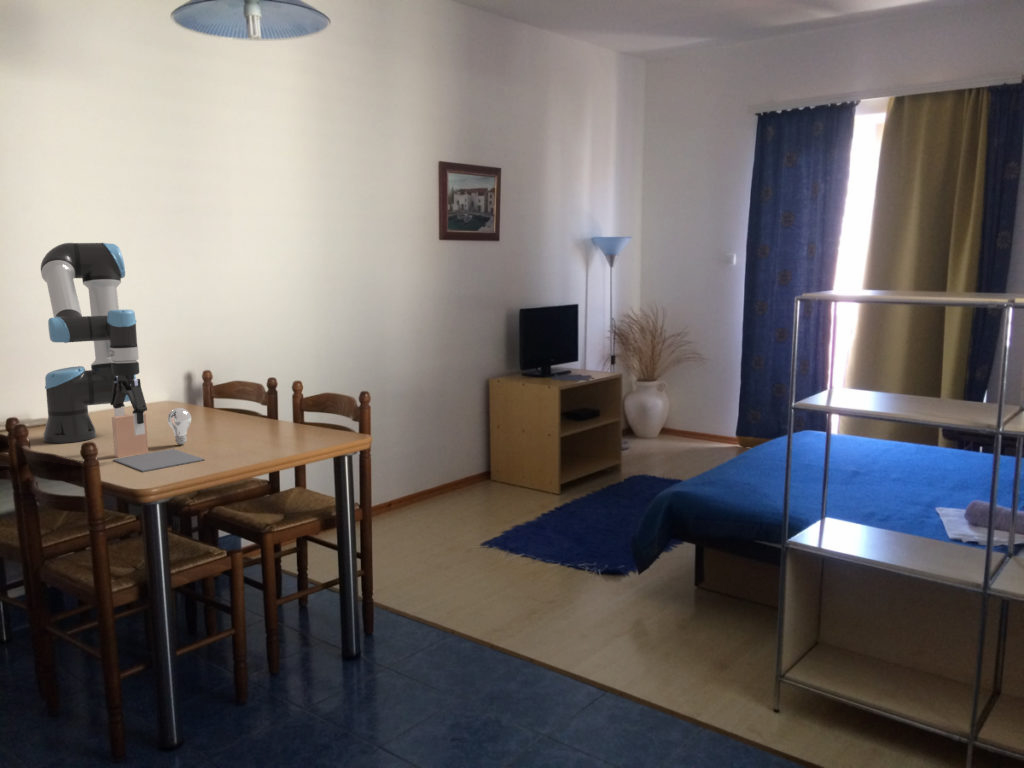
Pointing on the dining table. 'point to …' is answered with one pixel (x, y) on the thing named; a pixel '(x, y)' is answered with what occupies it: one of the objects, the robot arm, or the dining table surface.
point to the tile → (128, 437)
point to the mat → (158, 460)
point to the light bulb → (179, 424)
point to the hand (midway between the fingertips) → (130, 431)
